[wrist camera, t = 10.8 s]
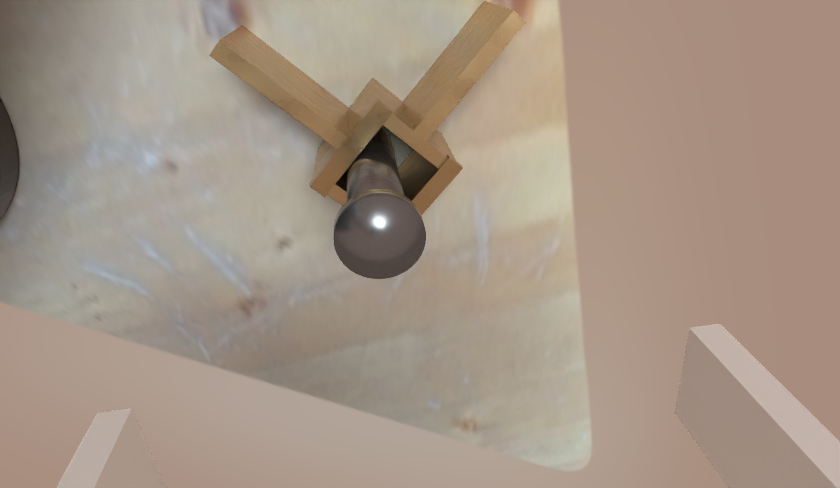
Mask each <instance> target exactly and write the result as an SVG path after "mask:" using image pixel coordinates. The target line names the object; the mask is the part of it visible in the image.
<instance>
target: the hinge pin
mask: <svg viewBox="0 0 840 488" xmlns="http://www.w3.org/2000/svg"><path fill="white" fill-rule="evenodd" d="M425 241H426V232H425V227H424V223H423V220H422V217H421V214H420V212H419V210H418V208H417V207H416V205H415V204H414V203H413V202H412V201H411V200H410V199H409V198H408V197H406V196H404V193H403V189H402V185H401V181H400V176H399V172H398V168H397V164H396V160H395V155H394V151H393V147H392V143H391V139H390V135H389V133H388V131H387V130H386V129H385V128H384V127H383V126H381V128H380V129H379V130H378V131H377V133H376V134H375V135H374V136H373V138H372V139H371V140H370V141H369V143H368V144H367V145H366V146H365V148H364V149H363V150H362V151H361V153H360V154H359V155H358V156H357V157H356V159H355V160H354V161H353V162H352V164H351V165H350V166H349V167H348V169H347V202H346V203H345V204H344V205H343V206H342V208H341V209H340V211H339V212H338V214H337V217H336V220H335V225H334V246H335V250H336V252H337V255H338V257H339V258H340V260H341V261H342V263H343V264H344V265H345V266H346V267H347V268H349V269H350V270H351V271H353V272H354V273H356V274H358V275H361V276H364V277H367V278H373V279H384V278H390V277H394V276H397V275H399V274H401V273H403V272H405V271H407V270H408V269H409V268H411V267H412V266H413V265H414V264H415V263H416V262H417V260H418V259H419V257H420V256H421V254H422V252H423V250H424V246H425Z"/></svg>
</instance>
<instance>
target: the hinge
mask: <svg viewBox="0 0 840 488" xmlns="http://www.w3.org/2000/svg"><path fill="white" fill-rule="evenodd" d="M525 23H526V22H525V21H524V20H523V19H522V18H521V17H520V16H519V15H518V14H517V13H516V12H515V11H514V10H511V9H508V8H505V7H501V6H498V5H495V4H492V3H489V2H486V1H484V2H483V4H482V5H481V6H480V7H479V9H478V10H477V11H476V12H475V14H474V15H473V16H472V17H471V19H470V20H469V21H468V22H467V24H466V25H465V26H464V27H463V28H462V30H461V31H460V32H459V33H458V35H457V36H456V37H455V38H454V40H453V41H452V42H451V43H450V45H449V46H448V47H447V48H446V50H445V51H444V52H443V53H442V54H441V56H440V57H439V58H438V59H437V61H436V62H435V63H434V64H433V66H432V67H431V68H430V69H429V71H428V72H427V73H426V74H425V76H424V77H423V78H422V79H421V81H420V82H419V83H418V84H417V85H416V87H415V88H414V89H413V90H412V92H411V93H410V94H409V95H408V97H407V98H406V99H405V100H404V102H402V101H401V100H400V99H398V98H397V97H396V96H395V95H393V94H392V93H391V92H390V91H388V90H387V89H386V88H385V87H384V86H382V85H381V84H380V83H379V82H377V81H376V80H375V79H374V78H372V79H371V81H370V82H369V83H368V85H367V86H366V87H365V89H364V90H363V91H362V92H361V94H360V95H359V96H358V98H357V99H356V100H355V101H354V103H353V104H352V105H351V107H350V108H348V107H347V106H346V105H344V104H343V103H342V102H340V101H339V100H338V99H337V98H335V97H334V96H333V95H331V94H330V93H329V92H328V91H326V90H325V89H324V88H322V87H321V86H320V85H319V84H317V83H316V82H315V81H313V80H312V79H311V78H309V77H308V76H307V75H306V74H304V73H303V72H302V71H300V70H299V69H298V68H297V67H295V66H294V65H293V64H291V63H290V62H289V61H288V60H286V59H285V58H284V57H282V56H281V55H280V54H279V53H277V52H276V51H275V50H273V49H272V48H271V47H269V46H268V45H267V44H266V43H264V42H263V41H262V40H260V39H259V38H258V37H257V36H255V35H254V34H253V33H251V32H250V31H249V30H248V29H246V28H245V27H244V26H241V27H239V28H238V29H236V30H234V31H233V32H231V33H230V34H228V35H227V36H225V37H224V38H222V39H221V40H219V42H218V43H217V45H216V46H215V48H214V49H213V51H212V52H211V54H210V55H209V56H211V57H212V58H214V59H215V60H216V61H218V62H219V63H220V64H222V65H223V66H224V67H226V68H227V69H229V70H230V71H231V72H233V73H234V74H235V75H237V76H238V77H239V78H241V79H242V80H244V81H245V82H246V83H248V84H249V85H250V86H252V87H253V88H254V89H256V90H257V91H258V92H260V93H261V94H263V95H264V96H265V97H267V98H268V99H269V100H271V101H272V102H273V103H275V104H276V105H278V106H279V107H280V108H282V109H283V110H284V111H286V112H287V113H288V114H290V115H291V116H293V117H294V118H295V119H297V120H298V121H299V122H301V123H302V124H303V125H305V126H306V127H308V128H309V129H310V130H312V131H313V132H314V133H316V134H317V135H318V136H320V137H321V138H322V139H324V141H323V143H322V144H321V145H320V147H319V148H318V154H317V160H316V167H315V173H314V179H313V180H312V181H311V183H310V187H311V188H312V189H314V190H315V191H317V192H318V193H320V194H321V195H323V196H324V197H325V196H326V195H328V196H330V197H331V198H333V199H334V200H335V201H337V202H338V203H340V204H341V205H344V204H345V203H346V202H347V169H348V167H349V166H350V165H351V164H352V162H353V161H354V160H355V159H356V157H357V156H358V155H359V154H360V153H361V151H362V150H363V149H364V148H365V146H366V145H367V144H368V143H369V141H370V140H371V139H372V138H373V136H374V135H375V134H376V133H377V131H378V130H379V129H380V128H381V126H382V125H384V126H385V127H386V128H387V129H389V130H390V131H391V132H392V133H394V134H395V135H396V136H398V137H399V138H400V139H401V140H403V141H404V142H405V143H407V144H408V145H409V146H410V147H412V148H413V149H414V150H413V151H412V152H411V153H410V154H409V156H408V157H407V158H406V159H405V160H404V162H403V163H402V164H401V165H400V166H399V168H398V172H399V176H400V181H401V185H402V189H403V193H404V196H406V197H408V198H409V199H410V200H411V201H412V202H413V203H414V204H415V205H416V207H417V208H418V210H419V212H420V214H421V215H422V214H423V213H424V212H425V211H426V209H427V208H428V207H429V206H430V205H431V204H432V203H433V202H434V200H435V199H436V198H437V197H438V196H439V195H440V194H441V192H442V191H443V190H444V189H445V188H446V187H447V186H448V185H449V183H450V182H451V181H452V180H453V179H454V178H455V177H456V175H457V174H458V173H459V172H460V171H461V170H462V169H463V168H462V166H461V165H460V164H459V163H458V162H457V161H456V160H455V158H454V156H453V154H452V153H451V151H450V149H449V147H448V145H447V143H446V141H445V139H444V137H443V136H442V134H441V133H440V132H439V131H437V130H436V129H437V128H438V126H439V125H440V124H441V123H442V122H443V121H444V119H445V118H446V117H447V116H448V115H449V113H450V112H451V111H452V110H453V109H454V107H455V106H456V105H457V104H458V103H459V102H460V100H461V99H462V98H463V97H464V96H465V94H466V93H467V92H468V91H469V90H470V88H471V87H472V86H473V85H474V84H475V83H476V81H477V80H478V79H479V78H480V77H481V75H482V74H483V73H484V72H485V71H486V69H487V68H488V67H489V66H490V65H491V64H492V62H493V61H494V60H495V59H496V58H497V56H498V55H499V54H500V53H501V52H502V50H503V49H504V48H505V47H506V46H507V45H508V43H509V42H510V41H511V40H512V39H513V37H514V36H515V35H516V34H517V33H518V31H519V30H520V29H521V28H522V27H523V26H524V24H525Z"/></svg>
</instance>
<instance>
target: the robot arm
mask: <svg viewBox="0 0 840 488" xmlns="http://www.w3.org/2000/svg"><path fill="white" fill-rule="evenodd" d="M17 178H18V152H17V145H16V140H15V136H14V132H13V129H12V126H11V123H10V120H9V117H8V115H7V113H6V110H5V108H4V106H3V104H2V102H1V100H0V218H1V217H2V216H3V214H4V213H5V211H6V210H7V208H8V206H9V204H10V202H11V200H12V197H13V195H14V191H15V188H16V183H17ZM675 414H676V415H677V417H678V418H679V419H680V421H681V422H682V424H683V425H684V426H685V428H686V429H687V431H688V432H689V433H690V435H691V436H692V438H693V439H694V440H695V442H696V443H697V444H698V446H699V447H700V449H701V450H702V451H703V453H704V454H705V456H706V457H707V458H708V460H709V461H710V463H711V464H712V465H713V467H714V468H715V470H716V471H717V472H718V474H719V475H720V477H721V478H722V479H723V481H724V482H725V484H726V485H727V486H728V488H840V442H839V441H838V440H837V439H836V438H835V437H834V436H833V435H832V434H831V433H830V432H829V431H828V430H827V429H826V428H825V427H824V426H823V425H822V424H821V423H820V422H819V421H818V420H817V419H816V418H815V417H814V416H813V415H812V414H811V413H810V412H809V411H808V410H807V409H806V408H805V407H804V406H803V405H802V404H801V403H800V402H799V401H798V400H797V399H796V398H795V397H794V396H793V395H792V394H791V393H790V392H789V391H788V390H787V389H786V388H785V387H783V386H782V385H781V384H780V383H779V382H778V381H777V380H776V379H775V378H774V377H773V376H772V375H771V374H770V373H769V372H768V371H767V370H766V369H765V368H764V367H763V366H762V365H761V364H760V363H759V362H758V361H757V360H756V359H755V358H754V357H753V356H752V355H751V354H750V353H749V352H748V351H747V350H746V349H745V348H744V347H743V346H742V345H741V344H740V343H739V342H738V341H737V340H736V339H735V338H734V337H733V336H732V335H731V334H730V333H729V332H728V331H727V330H726V329H725V328H723V326H722V325H721V324H714V325H707V326H700V327H694V328H689V333H688V339H687V345H686V351H685V357H684V362H683V368H682V374H681V380H680V386H679V391H678V397H677V402H676V408H675ZM57 488H166V486H165V483H164V481H163V479H162V477H161V474H160V472H159V470H158V467H157V465H156V463H155V460H154V458H153V456H152V453H151V451H150V449H149V447H148V445H147V442H146V440H145V437H144V435H143V433H142V430H141V428H140V426H139V424H138V421H137V419H136V417H135V414H134V412H133V409H132V408H129V409H122V410H114V411H107V412H100V413H97V414H96V416H95V418H94V420H93V421H92V423H91V425H90V427H89V429H88V431H87V432H86V434H85V436H84V438H83V440H82V441H81V443H80V445H79V447H78V449H77V451H76V453H75V455H74V457H73V458H72V460H71V462H70V464H69V466H68V467H67V469H66V471H65V473H64V475H63V477H62V478H61V480H60V482H59V484H58V486H57Z"/></svg>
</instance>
